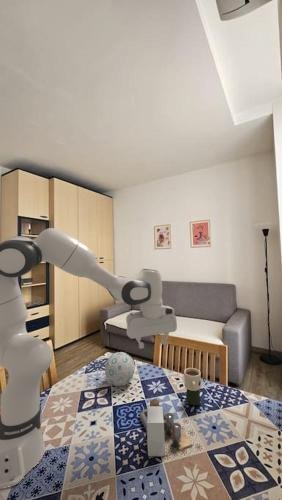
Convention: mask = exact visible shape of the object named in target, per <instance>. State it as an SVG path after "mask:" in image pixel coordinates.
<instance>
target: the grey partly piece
mask: <svg viewBox="0 0 282 500" xmlns="http://www.w3.org/2000/svg"><path fill="white" fill-rule="evenodd" d="M159 406H162V405H161V404H159ZM166 414H167V412H166V411H165V409H164V408H163V417H164V431H166V423H165V415H166ZM139 419H140V420H141V423H142V424H143V425H142V426H143V427H144V429H145V431H146V432H147V408H145V409H142V410H139Z"/></svg>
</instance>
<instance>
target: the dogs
mask: <svg viewBox="0 0 282 500" xmlns="http://www.w3.org/2000/svg"><path fill="white" fill-rule="evenodd" d="M174 417H175V416H174V414H173V413H171V412H166V415H165V423H166V430H165V434H166V436H168V437H170V438H171V440H172V441H171V442H172V443H171V444H172V446H173V448H175V449H178V451H182V450H185V449H188V448H190V447H193V443H192V441H191V440H190V439H189V437H188V436H187V434H186V433H185V432H184V430H183V428H182V427H181V426H182V425H181V424H180V423H179V422H174V421H175V420H174Z"/></svg>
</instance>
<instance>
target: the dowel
mask: <svg viewBox="0 0 282 500" xmlns="http://www.w3.org/2000/svg"><path fill="white" fill-rule="evenodd" d="M159 405H160V400H158V399H157V398H151V399H150V401H149V406H159Z"/></svg>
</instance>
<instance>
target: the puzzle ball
mask: <svg viewBox="0 0 282 500" xmlns="http://www.w3.org/2000/svg"><path fill="white" fill-rule="evenodd" d="M135 368H136V367H135V363H134V359H133V358H132V357H131V355H130V354H128V353H127V352H123V351H120V352H119V351H117V352H114V353H113V354H111V356H110V357H109V358H107V360H106V363H105V365H104V373H105V378H106V379H107V381H108V383H110V384H112V385H113V386H115V387H120V386H125V385H127V384H128V383H129V382H131V381H132V379H133V377H134V374H135V370H136V369H135Z"/></svg>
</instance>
